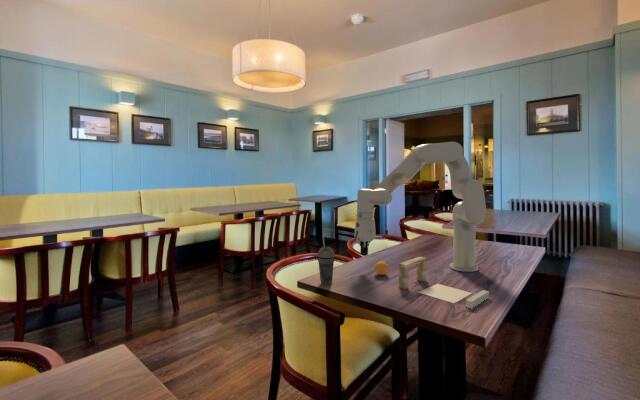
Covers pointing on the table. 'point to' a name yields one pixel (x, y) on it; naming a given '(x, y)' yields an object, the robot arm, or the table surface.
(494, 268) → the table surface
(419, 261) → the bridge
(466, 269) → the robot arm
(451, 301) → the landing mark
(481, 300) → the wall
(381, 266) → the ball
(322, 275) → the beverage cup
